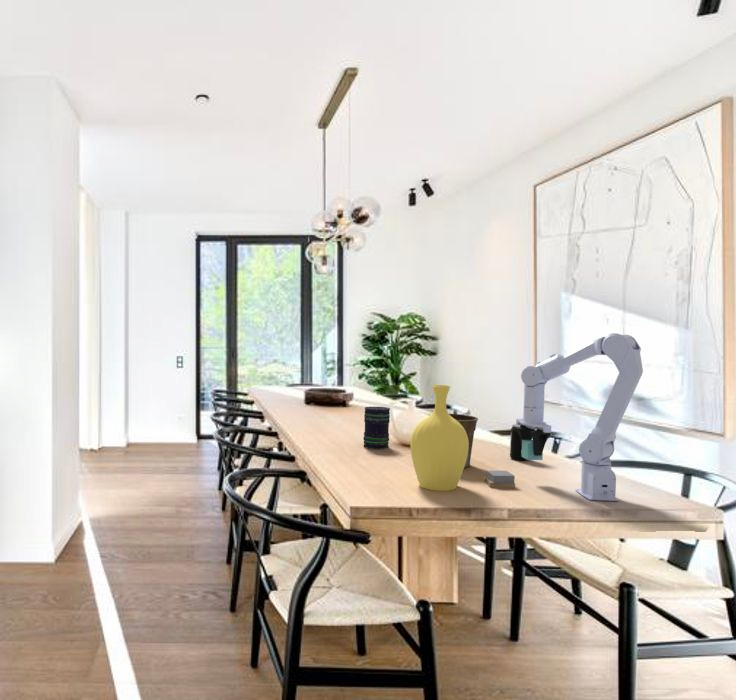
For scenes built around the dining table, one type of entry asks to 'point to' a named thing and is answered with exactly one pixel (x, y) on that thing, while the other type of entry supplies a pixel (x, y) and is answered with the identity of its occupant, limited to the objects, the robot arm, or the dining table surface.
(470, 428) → the plant pot
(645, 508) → the dining table surface
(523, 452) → the teal block
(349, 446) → the dining table surface
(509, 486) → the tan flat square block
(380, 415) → the storage jar
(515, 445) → the beverage can
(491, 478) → the grey slab
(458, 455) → the vase
